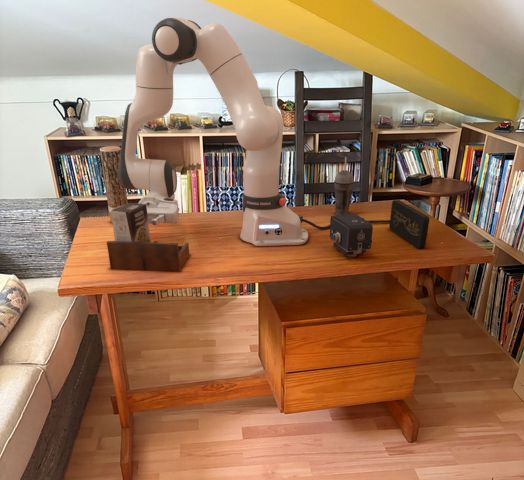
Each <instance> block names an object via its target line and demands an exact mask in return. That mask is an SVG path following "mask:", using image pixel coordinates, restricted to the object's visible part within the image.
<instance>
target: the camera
mask: <svg viewBox="0 0 524 480" xmlns="http://www.w3.org/2000/svg"><path fill="white" fill-rule="evenodd" d="M329 222H330V223H329V225H330V228H329V235H328V236H329V238H330V240H331V241H332V242H333V246H334V247H335V248H336V249H338V250H339V251H340V252H341V253H342V254H344V255H346V256H347V257H352V258H354V257H357V255H361V254H366V253H367V251H370V250H371V249H372V244H373V230H374V227H373V223H370V222H368V221H366V218H365V216H363V215H361V216H360V215H358V214H357V213H348V214H344V215H343V214H342V215H337V214H335V215H330V221H329Z"/></svg>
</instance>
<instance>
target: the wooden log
mask: <svg viewBox="0 0 524 480" xmlns="http://www.w3.org/2000/svg"><path fill="white" fill-rule="evenodd" d="M99 154H100V160H101V167H102V175H103V180H104V186H105V194H106V200H107V207H108V214H109V221H110V222H111V223H112V224H113V222H112V214H111V210H113V209H115V208H117V207H119V206H122V205H124V204H127V203H129V202H128V195H127V189H126V188H125V187H124V186H123V185H122V184H121V183H120V182H119V180H118V166H119V160H120V154H121V147H120V146H116V145H109V146H108V145H107V146H102V147H99Z"/></svg>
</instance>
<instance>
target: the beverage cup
mask: <svg viewBox="0 0 524 480" xmlns="http://www.w3.org/2000/svg"><path fill="white" fill-rule="evenodd" d="M344 157H345V158H344V169H343V170H340V171H339V172H337V174H336V175H335V177H334V180H333V184H334V197H335V198H334V199H335V200H334V205H335V206H334V208H335V215H342V214H343V215H344V214H349V211H350V205H351V200H352V192H353V188H354V184H355V178H354V175H353V173H352V172H351V171H350V170H347V158H348V157H347V156H344Z"/></svg>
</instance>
